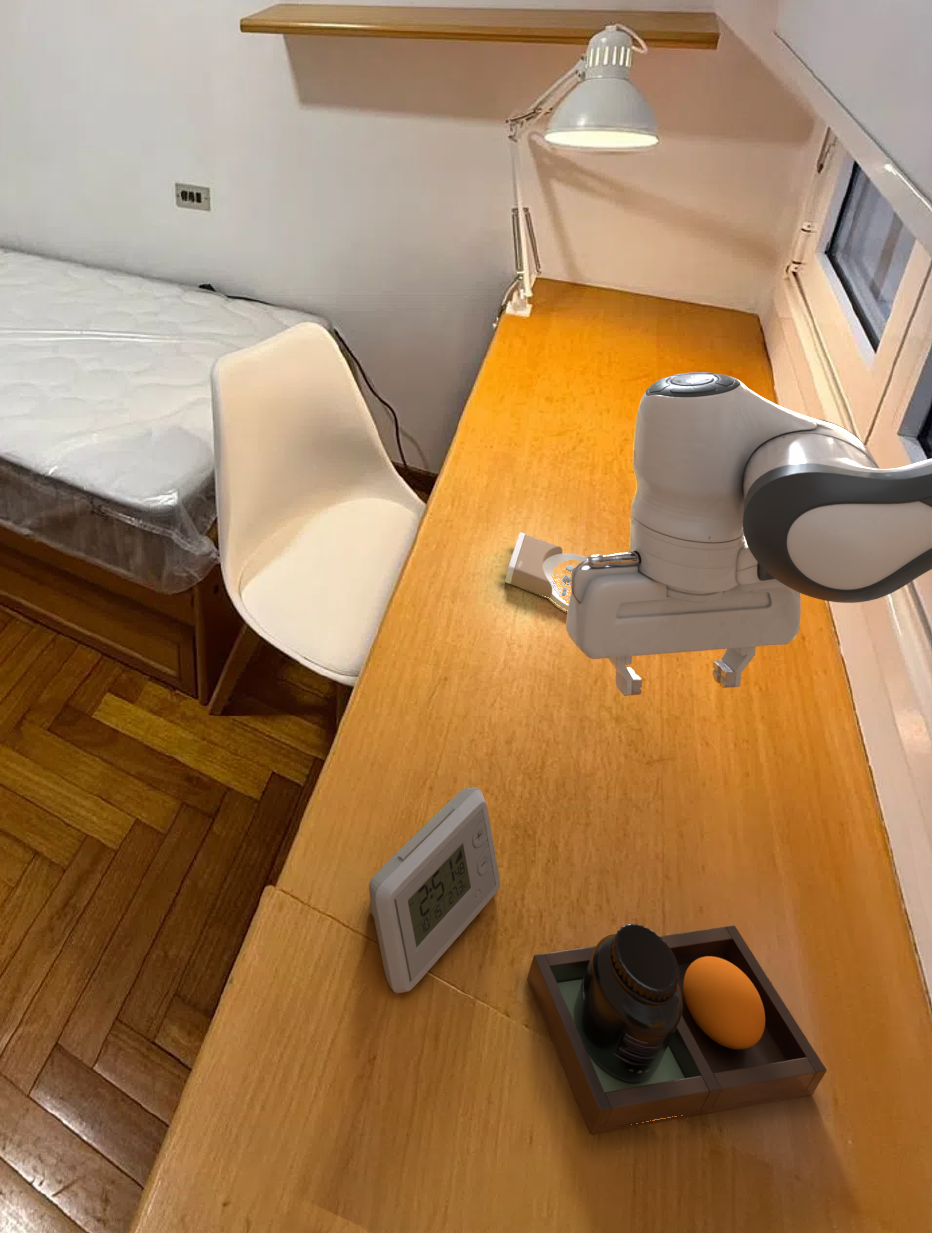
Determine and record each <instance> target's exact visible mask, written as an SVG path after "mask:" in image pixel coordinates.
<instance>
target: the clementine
mask: <svg viewBox="0 0 932 1233" xmlns="http://www.w3.org/2000/svg"><path fill="white" fill-rule="evenodd" d="M683 988H684V996H685V1000H686V1004H687V1006H688V1009H689V1011H690V1013H691V1015H692V1017H693V1019H694V1020H695V1022H696V1023H697V1025H698V1026H699V1027H700V1028H701V1030H702V1031H703V1032H704V1033H705V1034H706V1035H708V1036H709V1037H710V1038H711V1039H712V1040H714V1041H715V1042H717V1043H718V1044H720V1045H722V1046H724V1047H727V1048H731V1049H736V1050H742V1049H747V1048H750V1047H752V1046H754V1045H755V1044H756V1043H757V1042H758V1041H759V1040H760V1038H761V1037H762V1034H763V1032H764V1028H765V1012H764V1007H763V1003H762V1001H761V998H760V996H759V993H758V991H757V990H756V988H755V986H754V985H753V983H752V982H751V981H750V979H749V978H748V977H747V976H746V975H745V974H744V973H743V972H742V971H741V970H740V969H739V968H738V967H736V966H735V965H733V964H732V963H730V962H728V961H726V960H724V959H721V958H718V957H712V956H707V957H701V958H699V959H697V960H695V961H694V962H693V963H691V965H690V966H689V967H688V969H687V971H686V973H685V977H684V983H683Z"/></svg>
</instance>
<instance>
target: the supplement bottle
mask: <svg viewBox="0 0 932 1233" xmlns="http://www.w3.org/2000/svg"><path fill="white" fill-rule="evenodd" d="M660 936H661V935H658V934H657V932H656V931H654V930H651V929H650V928H649V927H646V926H645V925H641V924H638V923H629V924H624V925H623V926H621V927H620V929H618V930H617V931H616V933H613V934H609V935H606V936H604V937H603V938H601V939H600V940H599V941H598V942H597V943H596V945H595V946H596V947H595V949H594V951H593V953H592V956H591V959H590V962H589V964H588V967H587V970H586V973H585V976H584V978H583V981H582V984H581V987H580V990H579V992H578V996H577V999H576V1003H575V1021H576V1026H577V1030H578V1032H579V1035H580V1037H581V1039H582V1042H583V1044H584V1046H585V1047H586V1049H587V1051H588V1052H589V1053H590V1055H591V1056H592V1057H593V1059H594V1060H595V1061H596V1062H597V1063H598V1064H599V1065H600V1066H601V1067H602V1068H603V1069H604V1070H606V1071H607V1072H608V1073H610V1074H611V1075H613V1076H615V1077H617V1078H619V1079H621V1080H624V1081H628V1082H641V1081H644V1080H646V1079H648V1078H650V1077H651V1076H652V1075H653V1074H654V1073H655V1071H656V1070H657V1068H658V1066H659V1064H660V1062H661V1060H662V1058H663V1056H664V1054H665V1051H666V1049H667V1047H668V1045H669V1043H670V1041H671V1038H672V1036H673V1034H674V1032H675V1030H676V1028H677V1026H678V1023H679V1021H680V1018H681V1014H682V996H681V991H680V988H679V985H678V978H679V967H678V965H677V960H676V959H675V955H674V954H673V953H672V951H671V948H670V947H669V946H668V945H667V943H666V942H665V941H664V940H663V939H662V938H661V937H660Z"/></svg>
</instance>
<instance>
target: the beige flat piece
mask: <svg viewBox="0 0 932 1233" xmlns="http://www.w3.org/2000/svg"><path fill="white" fill-rule="evenodd" d="M587 557H588V556H584V555H581V554H577V553H568V552H567V553H566V552H565V553H564V552H563V547H562V546H560V545H557V544H554V543H551V542H549V541H546V540H543V539H540V538H538V537H535V536H533V535H529V534H527V533H525V532H521V531H520V532H518V536H517V539H516V543H515V545H514V548H513V552H512V554H511V557H510V561H509V564H508V567H507V570H506V574H505V579H504V582H505V583H507V584H510V585H512V586H514V587H517V588H520V589H522V590H524V591H528V590H529V591H528V592H530V593H532V594H534V595H536V596H540V597H542V598H545V599H548V600H549V601H550V602H551V603H552V604H553V605H554V606H555V607H556V608H558V609H559V610H561V611H562V612H564V613H566V614H567V612H566V611H565V610H563V609H561V608H560V607H558V606H557V605H556V604H558V605H560V606H561V607H562V608H565V609H566V610H568V605H569V604H568V603H566V601H565V600H563V599H562V598H564V597H559V595H560V596H561V595H562V596H565V595H568V593H567V592H569V591H568V590H567V588H566V587H565V588H564V587H563V588H562V587H557V585H558V584H559V585H560V583H557V585H556V584H553V582H554V580H555V581H556V580H557V581H558V579H559V578H558V579H554V580H553V578H552V576H553V574H551V573H552V572H553V570H554V568H555V567H557V566H559V565H558V564H560V563H562V562H563V561H568V560H578V561H579V560H580V561H581V560H582V561H585V560H586V559H587ZM573 568H574V567H573V566H572V565H566V570H568V571H570V572H571V571H572V570H573ZM556 570H557V569H556ZM551 575H552V576H551ZM556 575H557V574H556ZM561 575H562V574H561ZM557 576H558V575H557ZM570 576H571V575H570ZM570 576H568V575H565V576H564V578H562V579H561V580H562V581H563V582H564V583H565V584H566V582H567V583H570V582H571V577H570ZM553 577H554V576H553ZM559 580H560V579H559ZM552 581H553V582H552ZM551 582H552V583H551ZM558 582H559V581H558ZM554 583H555V582H554ZM565 584H564V585H565ZM552 585H553V586H554V585H555V586H556V587H555V586H554V588H553V586H552ZM559 585H558V586H559ZM562 585H563V584H562ZM567 585H569V584H567ZM570 585H571V583H570ZM560 586H561V585H560ZM558 588H559V589H560V588H561V589H562V590H563V591H562V590H561V589H560V590H559V589H558ZM554 589H555V590H556V591H555V590H554ZM531 591H532V592H531ZM566 591H567V592H566ZM533 592H534V593H533ZM560 592H561V593H560ZM570 592H571V591H570ZM536 593H537V594H536ZM538 594H540V595H538ZM541 595H543V596H541ZM569 595H570V594H569ZM544 596H546V597H549V598H551V599H552V600H553V601H554V602H556V604H554V603H553V602H552V601H551V600H550V599H549V598H546V597H544ZM565 598H566V597H565ZM567 598H568V597H567ZM567 598H566V599H567ZM567 602H568V601H567Z"/></svg>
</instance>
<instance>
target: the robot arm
mask: <svg viewBox="0 0 932 1233" xmlns="http://www.w3.org/2000/svg"><path fill="white" fill-rule="evenodd" d="M632 444H633V446H632V470H633V473H634V474H633V475H634V478H635V482H636V483H635V484H636V488H635V492H634V496H633V498H632V501H631V504H630V516H629V541H628V542H629V545H628V547H629V548H628V551H626V552H615V553H611V554H601V553H600V554H599V553H598V554H590V555H588V556H586V557H587V559H586V560H585V561H582V562H581V563H579V564H578V565H577V566H576V567H574V568H573V570H572V573H571V595H570V600H569V605H568V612H567V613H566V622H565V624H566V625H565V629H566V632H567V635H568V636H569V638H570V639H571V641H572V642H573V644H574V645H575V646H576V647H577V648H578V649H579V650H580V651H581V653H583V654H584V655H585V656H586V657H587V658H589V659H591V660H600V659H601V660H603V659H608V660H609V662H610V663H611V665H612V666H613V668H614V669H615V685H616V688H617V690H618V691H619V692H620V694H622V696H624V697H631V696H640V695H641V694H642V689H641V688H642V686H643V679H642V678H641V676H639V674H637V673H636V671H635V670H634V669H633V668H632V667H630V665H632V660H633V657H638V656H639V657H640V656H653V655H664V654H665V655H667V654H678V653H691V652H692V653H693V652H703V651H716V650H717V651H718V650H725V652H724V654H723V655H722V657H721V659H719V660H717V659H716V660H713V661H712V669H713V670H712V677H713V679H714V681H715V682H716V683H718V684H719V685H720V687H721V688H722V689H728V688H729V689H730V688H740V687H741V680H742V673H743V672H744V671H745V669H746V668H747V666H748V665H749V664H750V663H751V661H752V660H753V659H754V657H755V656H756V647H767V646H768V647H769V646H784V645H788V644H790V643H791V642H792V641H793V640H794V639H795V638H796V637H797V635H799V632H800V625H801V610H802V608H801V607H802V602H801V600H802V598H801V595H805V596H806V597H809V598H812V599H813V598H814V599H817V600H821V601H824V602H831V603H840V604H842V603H843V604H856V603H865V602H870V601H874V600H878V599H881V598H883V597H884V598H885V597H886V596H888V595H891V594H892V593H894V592H896V591H898V590H900V589H902V588H903V587H905V586H906V585H909V584H910V583H911V582H913V581H914V580H916V579H918V578H919V577H921V576H922V575H924V574H926V573H928V572H929V571H931V570H932V458H928V459H925V460H921V461H917V462H915V463H911V464H907V465H904V466H901V467H895V468H880V466H879V465H878V463H877V461H876V460H875V458H874V456H873V454H872V453H871V452H870V450H869V449H868V447H867V446H866V444H865V443H864V442H863V441H862V440H861V439H859V437H857V436H856V434H854V433H852V432H851V431H850V430H848V429H847V428H845V427H843V426H840V425H838V424H837V423H834V422H831V421H828V420H825V419H820V418H815V417H812V416H811V417H809V416H807V415H805V414H801V413H799V412H796V411H793V410H790V409H788V408H785V407H783V406H780V405H778V404H776V403H774V402H772V401H771V400H768V399H766V398H764V397H763V396H761V395H759V394H758V393H756V392H755V391H753V390H752V389H750V388H748V387H747V385H745V384H744V383H743V382H742V381H741V380H739V379H737V378H736V377H733V376H730V375H726V374H720V373H714V372H706V371H705V372H703V371H701V372H700V371H697V372H695V371H693V372H684V373H678V374H677V373H676V374H672V375H670V376H667V377H662V378H660V379H658V380H657V381H655V382H654V383H652V384H651V385H650V386H648V388H647V389H646V390H645V391H644V393H643V395H642V396H641V399H640V402H639V405H638V409H637V413H636V419H635V425H634V434H633V443H632ZM586 565H588V566H586ZM626 665H627V666H628V665H629V667H627V666H626Z"/></svg>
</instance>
